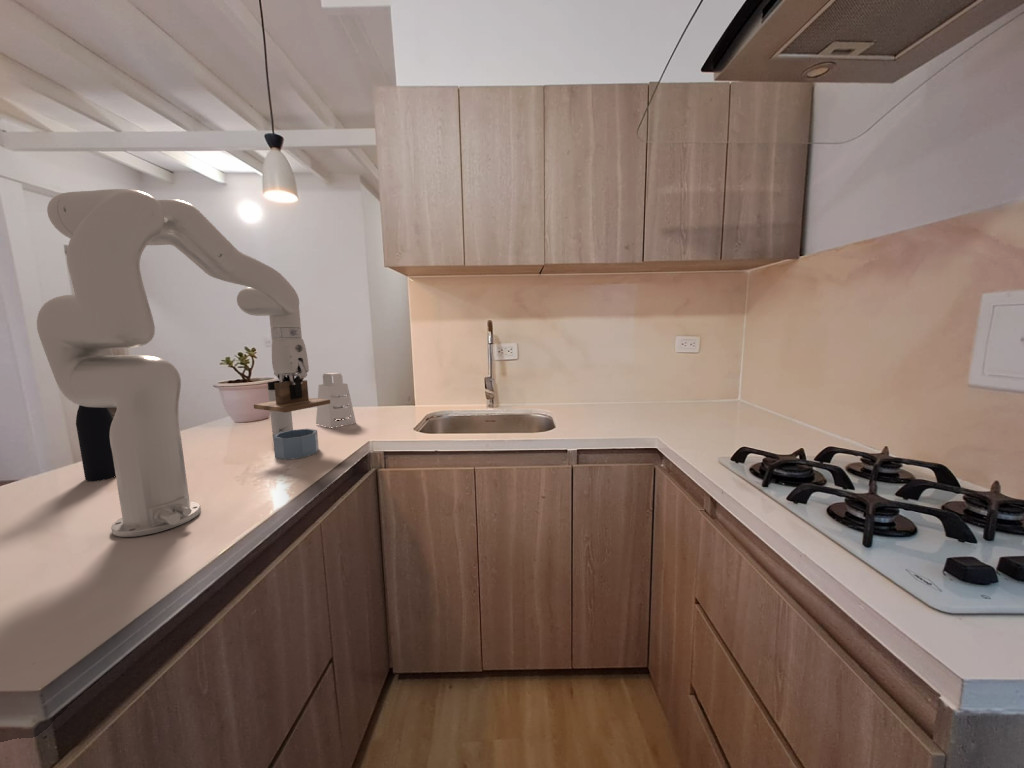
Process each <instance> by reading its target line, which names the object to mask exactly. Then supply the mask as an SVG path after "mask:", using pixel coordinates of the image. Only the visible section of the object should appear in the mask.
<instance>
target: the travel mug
mask: <svg viewBox="0 0 1024 768" xmlns="http://www.w3.org/2000/svg"><path fill="white" fill-rule="evenodd" d="M279 382H280V380H274V381H268V382H267V391H268V402H272V401H276V396H275V386H274V383H279ZM269 412H270V421H271V424H270V425H271V432H272V438H273V437H274V436H275V435H276V434H277V433H281V432H285V431H289V430H294V425H293V424H294V423H293V413H292V411H291V412H286V413H285V412H277V411H269Z"/></svg>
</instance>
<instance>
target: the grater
mask: <svg viewBox="0 0 1024 768" xmlns="http://www.w3.org/2000/svg"><path fill="white" fill-rule="evenodd" d="M343 381H344V380H343V375H342V373H340V372H327V373H326V372H325V373H323V374H322V384H318V391H317V399H328V400H330V404H326V405H321V406H316V418H315V425H316V424H319V425H323V426H326V427H330V428H331V427H336V426H341V425H345V426H348V425H347V424H350V425H353V424H352V423H354V424H356V423H357V421H356V418H355V417H356V416H355V411H354V408H353V404H352V403H353V402H352V399H351V395H350V390H349V386H348V383H343ZM336 419H344V420H339V421H335V420H336ZM341 427H342V426H341ZM330 428H329V429H330ZM336 428H337V427H336Z"/></svg>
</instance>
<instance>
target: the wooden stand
mask: <svg viewBox="0 0 1024 768" xmlns="http://www.w3.org/2000/svg"><path fill="white" fill-rule="evenodd" d="M290 385H291V381H287V382H279V383H274V386H275V396H276V401H272V402H269V401H266V402H260V403H255V404H253V409H254V410H261V411H263V410H264V411H269V412H270V411H277V412H285V413H286V412H291V413H292V412H295V411H300V410H304V409H310V408H315V407H316V408H317V406H321V405H326V404H330V400H328V399H318V397H317V398H315V397H309V388H308V380H305V379H303V381H302V384H301V387H302V398H298V399H291V394H290Z"/></svg>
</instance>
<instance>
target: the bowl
mask: <svg viewBox="0 0 1024 768" xmlns="http://www.w3.org/2000/svg"><path fill="white" fill-rule="evenodd" d="M272 439H273V440H272V441H273V450H274V451H273V452H274V459H279V458H280V460H284V459H287V460H293V459H292V458H296V459H302V458H301V457H304V458H306V457H305V456H307V457H309V456H308V455H310V456H312V454H313V455H316V454H317V453H318V452H319V450H320V449H319V448H320V447H319V438H318V429H313V428H312V429H311V428H298V429H293V430H289V431H285V432H281V433H277V434H276V435H275V436H274V437H273V436H272ZM318 449H319V450H318ZM315 453H316V454H315Z"/></svg>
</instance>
